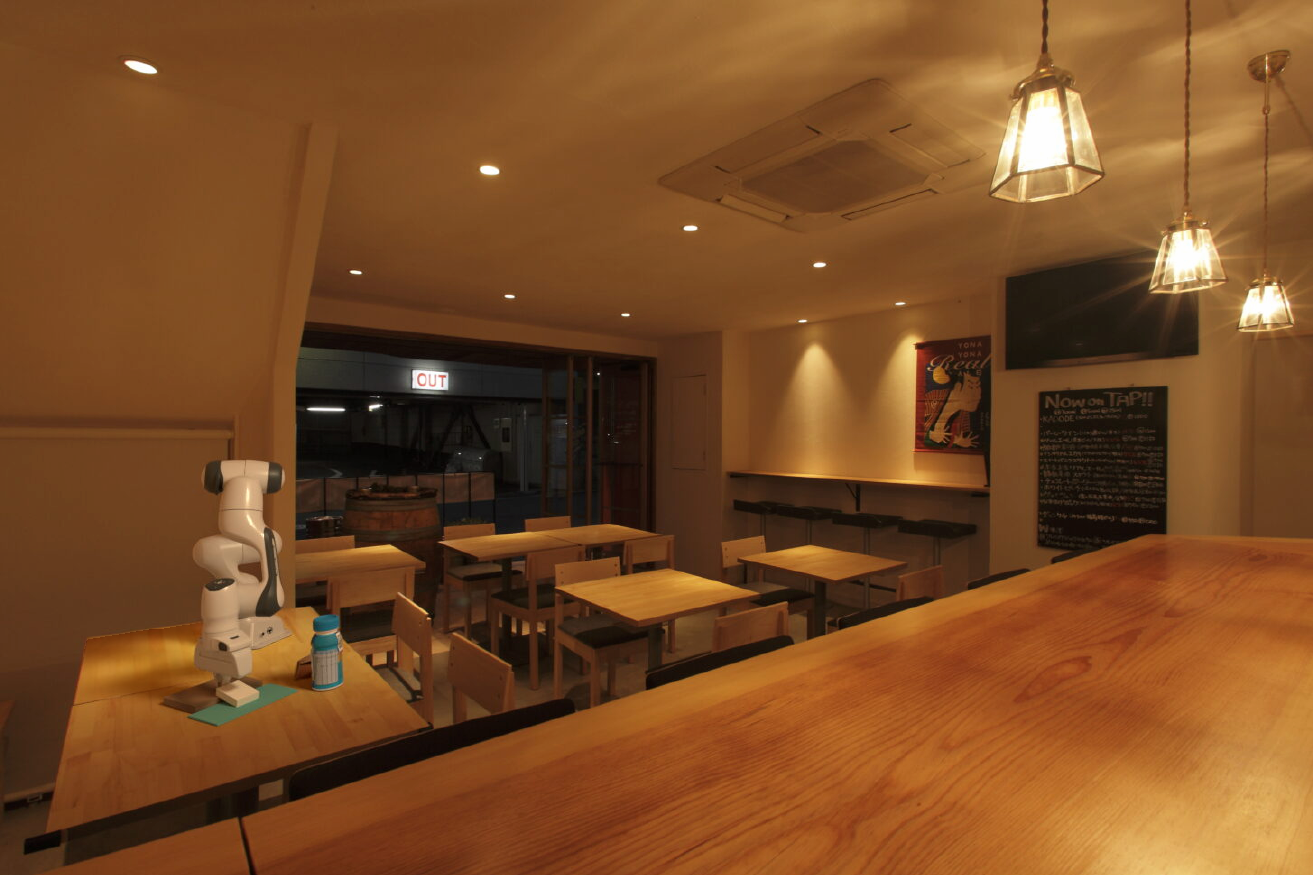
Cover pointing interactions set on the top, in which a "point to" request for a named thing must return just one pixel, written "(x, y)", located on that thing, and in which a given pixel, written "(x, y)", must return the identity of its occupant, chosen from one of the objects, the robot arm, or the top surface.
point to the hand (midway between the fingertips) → (223, 687)
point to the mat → (229, 712)
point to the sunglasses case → (304, 668)
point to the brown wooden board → (203, 695)
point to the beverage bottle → (326, 653)
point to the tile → (237, 693)
